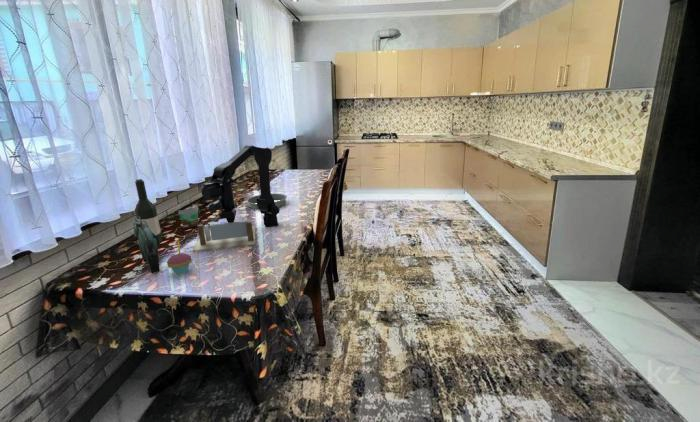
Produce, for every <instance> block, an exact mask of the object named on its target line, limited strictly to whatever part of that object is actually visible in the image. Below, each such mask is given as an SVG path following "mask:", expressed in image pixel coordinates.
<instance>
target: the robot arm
mask: <svg viewBox="0 0 700 422" xmlns="http://www.w3.org/2000/svg"><path fill="white" fill-rule="evenodd" d="M251 156H253V158H254V161H255V163H256V164H257V166H258V175H259V176H258V178H259V191H260V193H259V195H260V197H259V198H257V206H258V209H259V212H260V214H263V216H262V217H263V219H262V220H263V225H264V227H265V228H268V227H276V226H279V222H278V214H280V211H281V210H280V207H277V206H276V205H275V202H274V199H273V197H272V195H271V194H272V193H271V191H272V190H271V180H270V164H271V162H272V158H273V153H272V150H271V149H270V148H269V147H259V146H255V145H249V144H248V145H247V144H246V145H245V146H243V148H242V149H240V150H239V151H238V152H237V153H236V154H235V155H233V156H232V157H231V158H230V159H229V160H228V161H226V162H223V163H220V164H219V165H216V166H215V167H214V169H213V173H212V176H211V178H210V181H209V182H208V183H204V184H203V187H202V188H201V195H202V197H203V199H205V200H206V201H210V200H214V199H216V198H219V199H217V200H216V201H213V202H210V203H209V204H208V205H207V209H208V211H209V212H210V213H211V214H212V213H214V212H216V211H218V210H220V212H219V219H220V220H225V219H226V223H229V222H235V219H236V215H237V211H238V210H236V209H235V208H238V202H237V201H236V200H235V194H234V191H233V185H232V184H234V183H236V180H235V179H233V177H234V175H235V174H236V170H238V168H239V167H241V166H242V164H243V163H245V161H247V160H248V159H249V158H250V157H251Z"/></svg>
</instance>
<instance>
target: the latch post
mask: <svg viewBox="0 0 700 422" xmlns="http://www.w3.org/2000/svg"><path fill="white" fill-rule="evenodd" d="M245 221H246V222H245V223H246V228H247V236H248V241H254V237H253V229H252V226H253V223H252V222H253V221H252V219H248V220H245Z"/></svg>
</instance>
